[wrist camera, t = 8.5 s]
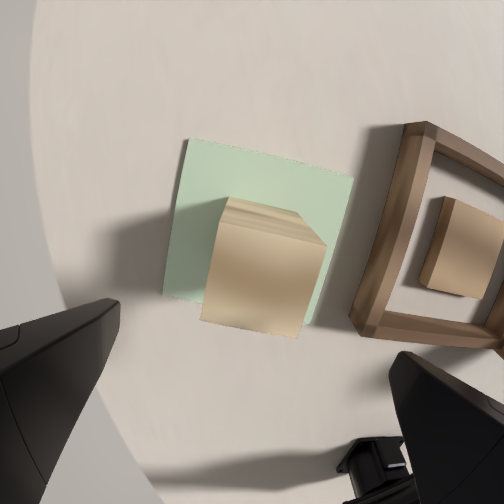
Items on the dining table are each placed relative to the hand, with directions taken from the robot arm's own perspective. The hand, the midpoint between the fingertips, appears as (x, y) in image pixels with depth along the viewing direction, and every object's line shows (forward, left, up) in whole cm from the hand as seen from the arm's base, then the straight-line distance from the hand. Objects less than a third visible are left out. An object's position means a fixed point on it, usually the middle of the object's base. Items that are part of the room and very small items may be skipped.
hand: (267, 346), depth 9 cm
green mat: (0, 0, -13) cm, 13 cm away
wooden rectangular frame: (+3, -17, -13) cm, 21 cm away
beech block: (0, 0, -13) cm, 13 cm away
